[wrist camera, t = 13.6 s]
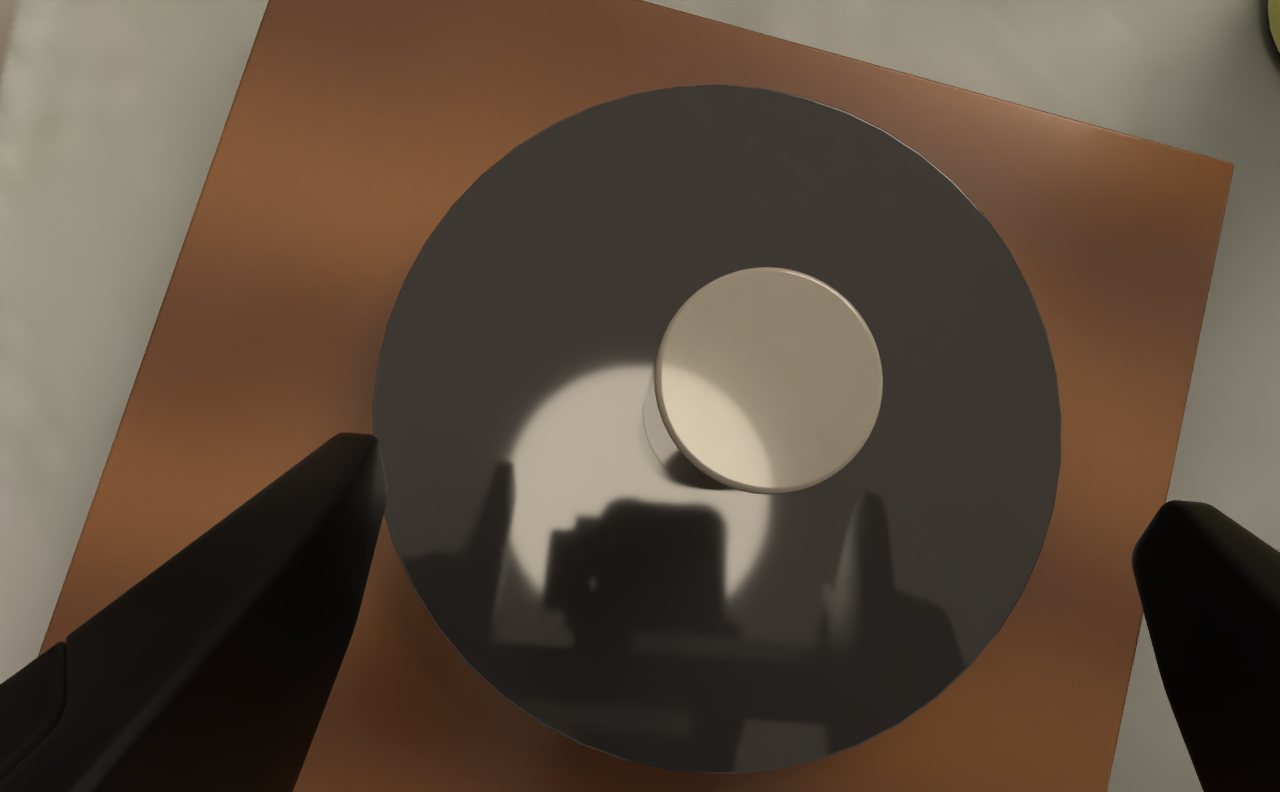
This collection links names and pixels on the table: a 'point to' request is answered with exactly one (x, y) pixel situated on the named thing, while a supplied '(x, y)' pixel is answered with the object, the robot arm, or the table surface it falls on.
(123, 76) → the table surface
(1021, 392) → the lid
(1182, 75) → the table surface
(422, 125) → the board
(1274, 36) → the tube
